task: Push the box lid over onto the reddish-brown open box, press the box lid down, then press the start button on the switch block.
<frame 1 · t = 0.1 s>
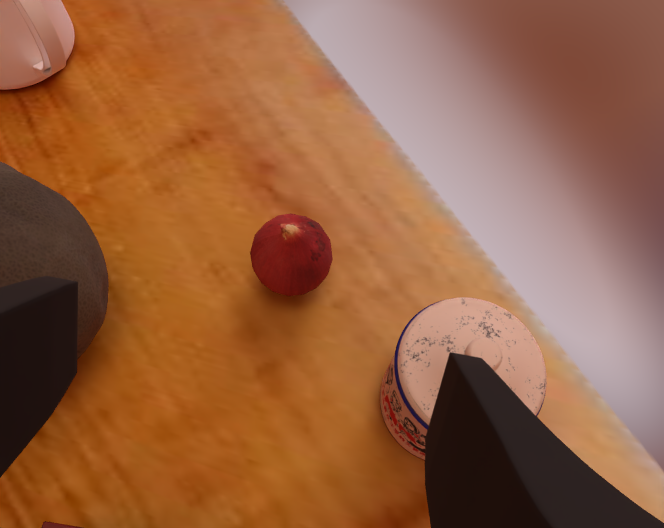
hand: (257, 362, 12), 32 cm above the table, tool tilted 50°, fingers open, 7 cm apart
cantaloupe: (31, 321, 45), on the table
coffeepot: (13, 47, 56), on the table
onion: (291, 277, 48), on the table
teacup with lid: (448, 420, 44), on the table
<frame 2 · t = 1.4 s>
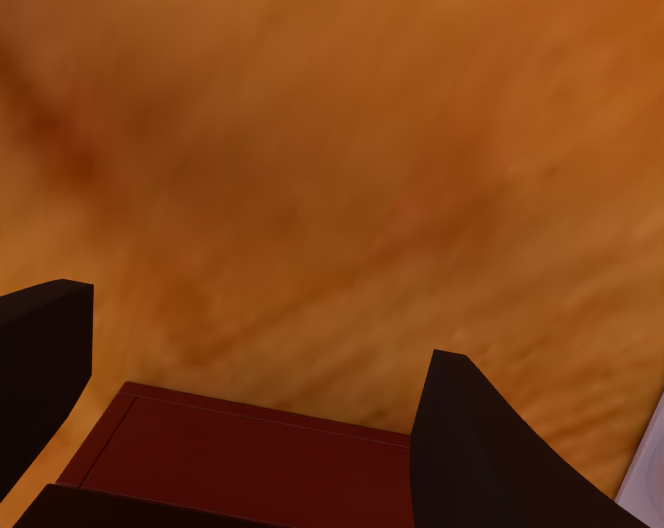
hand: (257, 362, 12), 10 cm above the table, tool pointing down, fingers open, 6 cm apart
reddish-brown open box: (262, 509, 27), on the table
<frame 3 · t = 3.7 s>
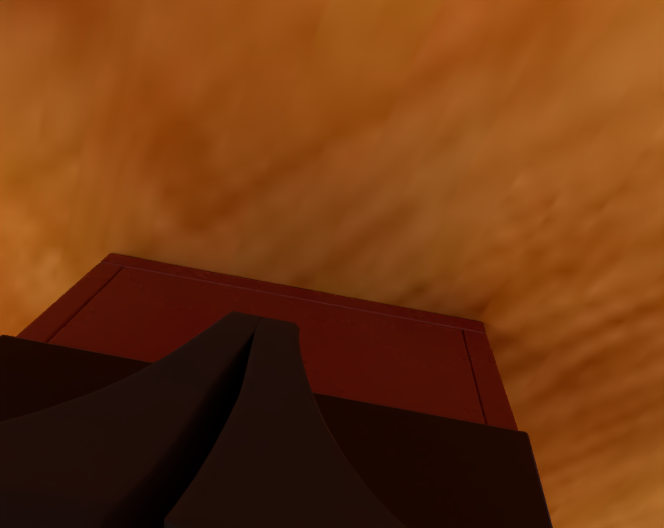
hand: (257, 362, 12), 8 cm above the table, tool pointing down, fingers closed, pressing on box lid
reddish-brown open box: (275, 416, 22), on the table
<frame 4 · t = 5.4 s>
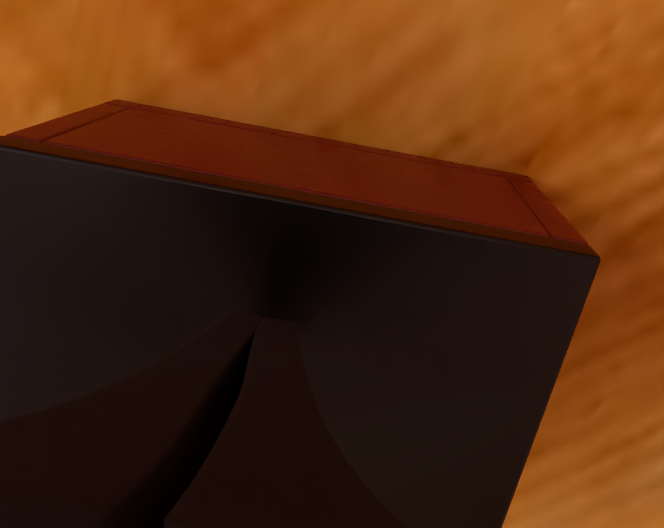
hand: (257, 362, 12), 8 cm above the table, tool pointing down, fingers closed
reddish-brown open box: (295, 295, 20), on the table
box lid: (259, 416, 15), point 6 cm above the table, hinge at -0.3°
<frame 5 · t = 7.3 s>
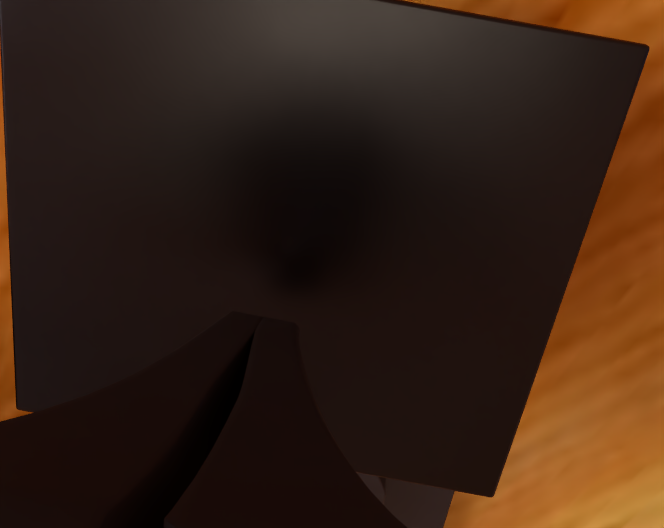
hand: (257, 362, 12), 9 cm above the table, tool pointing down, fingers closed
switch block: (298, 440, 24), on the table
box lid: (285, 251, 14), point 6 cm above the table, hinge at -0.3°
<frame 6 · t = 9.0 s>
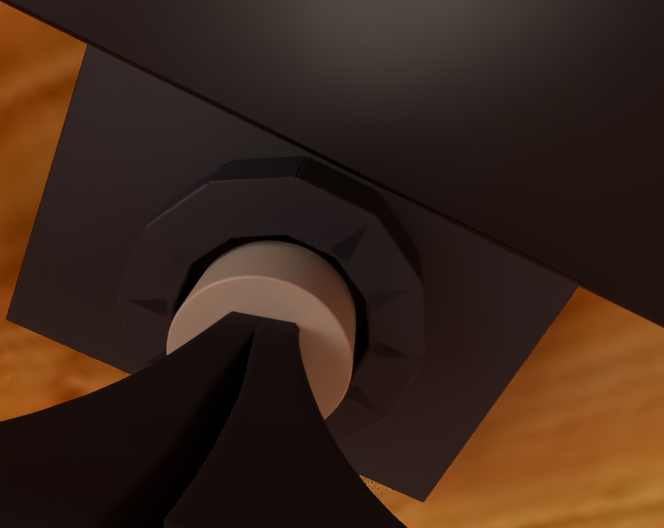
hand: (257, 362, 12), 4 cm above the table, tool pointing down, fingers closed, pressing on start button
switch block: (290, 273, 16), on the table
start button: (267, 337, 13), point 3 cm above the table, slide at -0.1 cm, touching gripper
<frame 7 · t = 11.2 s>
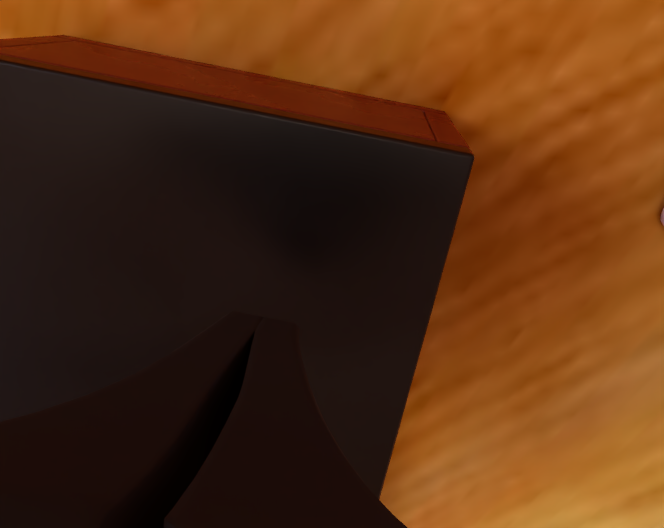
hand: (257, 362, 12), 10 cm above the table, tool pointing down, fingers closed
reddish-brown open box: (234, 226, 22), on the table
box lid: (181, 311, 16), point 6 cm above the table, hinge at -0.3°
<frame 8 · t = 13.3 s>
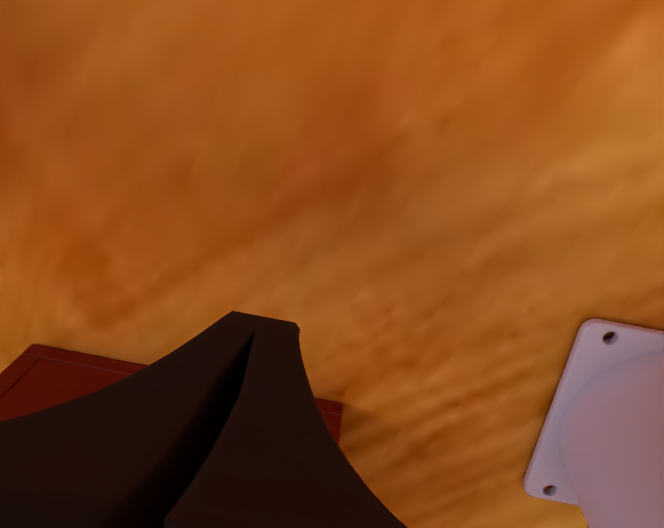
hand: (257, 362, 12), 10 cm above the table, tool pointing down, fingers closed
reddish-brown open box: (177, 476, 26), on the table
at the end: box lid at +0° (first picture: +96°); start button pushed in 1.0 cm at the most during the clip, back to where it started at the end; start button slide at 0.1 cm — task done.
